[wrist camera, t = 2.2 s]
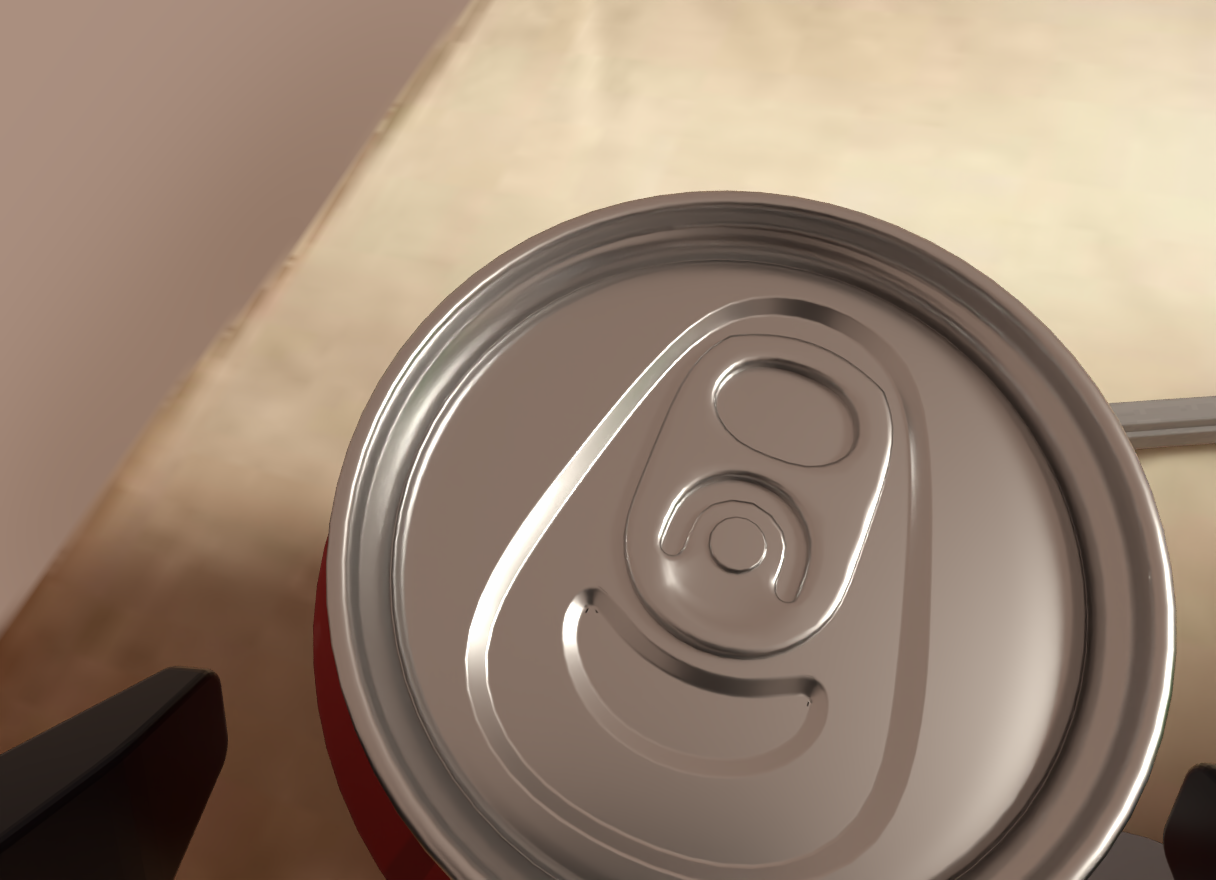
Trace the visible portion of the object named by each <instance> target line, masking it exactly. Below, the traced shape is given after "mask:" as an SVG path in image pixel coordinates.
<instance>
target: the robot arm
mask: <svg viewBox="0 0 1216 880" xmlns="http://www.w3.org/2000/svg"><path fill="white" fill-rule="evenodd" d="M227 747H228V735H227V727H226V719H225V711H224V704H223V696H222V688H221V683H220V679H219V677H218V675H217V674H216V673H215V672H214V671H212V670H210V669H204V668H194V667H183V666H172V667H168V668H166V669H164V670H162V671H160V672H158V673H156V674H154V675H152V676H150V677H148V678H147V679H145V680H143V681H141V682H139V683H137V684H135V685H133V686H131V687H129V688H127V689H125V690H123V691H122V692H120V693H118V694H116V695H114V696H112V697H110V698H108V699H106V700H104V701H102V702H100V703H98V704H97V705H95V706H93V707H91V708H89V709H87V710H85V711H83V712H81V713H79V714H77V715H75V716H74V717H72V718H70V719H68V720H66V721H64V722H62V723H60V724H58V725H56V726H54V727H52V728H50V729H49V730H47V731H45V732H43V733H41V734H39V735H37V736H35V737H33V738H31V739H29V740H27V741H26V742H24V743H22V744H20V745H18V746H16V747H14V748H12V749H10V750H8V751H6V752H4V753H2V754H1V755H0V880H174V878H175V875H176V873H177V871H178V868H179V866H180V864H181V862H182V859H183V857H184V855H185V852H186V850H187V848H188V845H189V843H190V841H191V838H192V836H193V834H194V831H195V829H196V827H197V825H198V822H199V820H200V818H201V815H202V813H203V811H204V808H205V806H206V804H207V801H208V799H209V797H210V794H211V792H212V790H213V788H214V785H215V783H216V781H217V778H218V776H219V774H220V771H221V769H222V767H223V764H224V761H225V757H226V753H227ZM1163 848H1164V853H1165V857H1166V860H1167V863H1168V866H1169V868H1170V871H1171V873H1172V876H1173V879H1174V880H1216V764H1212V763H1200V764H1196V765H1195V766H1193V767H1192V768H1191V769H1190V770H1189V771H1188V773H1187V774H1186V776H1185V779H1184V781H1183V784H1182V786H1181V788H1180V791H1179V793H1178V796H1177V798H1176V801H1175V803H1174V805H1173V808H1172V810H1171V813H1170V815H1169V818H1168V820H1167V822H1166V825H1165V828H1164V834H1163Z"/></svg>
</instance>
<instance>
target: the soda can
mask: <svg viewBox="0 0 1216 880" xmlns="http://www.w3.org/2000/svg"><path fill="white" fill-rule="evenodd" d="M313 651H314V674H315V684H316V693H317V703H318V709H319V714H320V719H321V724H322V729H323V733H324V738H325V743H326V748H327V751H328V754H329V757H330V760H331V764H332V767H333V770H334V773H335V776H336V779H337V782H338V786H339V789H340V791H341V794H342V796H343V798H344V800H345V803H346V805H347V807H348V810H349V812H350V814H351V817H352V819H353V821H354V824H355V826H356V828H357V830H358V832H359V834H360V836H361V838H362V839H363V841H364V843H365V845H366V846H367V848H368V850H369V852H370V854H371V855H372V857H373V859H374V861H375V862H376V864H377V866H378V868H379V870H380V871H381V872H382V874H383V875H384V877H385V878H386V879H387V880H1087V879H1088V878H1089V877H1090V876H1091V875H1092V873H1093V872H1094V871H1095V870H1096V868H1097V867H1098V866H1099V865H1100V863H1101V862H1102V861H1103V860H1104V858H1105V857H1106V856H1107V854H1108V853H1109V851H1110V849H1111V848H1112V846H1113V845H1114V843H1115V841H1116V840H1117V838H1118V837H1119V835H1120V833H1121V832H1122V830H1123V829H1124V827H1125V825H1126V824H1127V822H1128V821H1129V819H1130V817H1131V815H1132V813H1133V811H1134V809H1135V807H1136V804H1137V802H1138V800H1139V798H1140V796H1141V794H1142V792H1143V790H1144V787H1145V785H1146V783H1147V781H1148V779H1149V776H1150V774H1151V771H1152V768H1153V765H1154V762H1155V759H1156V756H1157V753H1158V750H1159V747H1160V744H1161V741H1162V738H1163V734H1164V729H1165V725H1166V720H1167V716H1168V711H1169V706H1170V702H1171V697H1172V690H1173V680H1174V671H1175V661H1176V603H1175V593H1174V584H1173V574H1172V567H1171V562H1170V557H1169V552H1168V547H1167V543H1166V538H1165V533H1164V529H1163V525H1162V522H1161V519H1160V516H1159V512H1158V509H1157V506H1156V503H1155V499H1154V496H1153V493H1152V490H1151V488H1150V485H1149V483H1148V480H1147V478H1146V475H1145V473H1144V471H1143V468H1142V466H1141V463H1140V461H1139V459H1138V456H1137V454H1136V452H1135V450H1134V448H1133V446H1132V444H1131V442H1130V440H1129V438H1128V437H1127V435H1126V433H1125V431H1124V429H1123V427H1122V425H1121V423H1120V421H1119V419H1118V418H1117V416H1116V415H1115V413H1114V412H1113V410H1112V408H1111V407H1110V405H1109V404H1108V402H1107V401H1106V399H1105V397H1104V396H1103V394H1102V393H1101V391H1100V390H1099V388H1098V387H1097V385H1096V384H1095V383H1094V381H1093V380H1092V379H1091V377H1090V376H1089V375H1088V374H1087V372H1086V371H1085V370H1084V368H1083V367H1082V366H1081V364H1080V363H1079V362H1078V360H1077V359H1076V358H1075V357H1074V355H1073V354H1072V353H1071V352H1070V351H1069V350H1068V349H1067V348H1066V347H1065V346H1064V344H1063V343H1062V342H1061V341H1060V340H1059V339H1058V338H1057V337H1056V336H1055V335H1054V333H1053V332H1052V331H1051V330H1050V329H1049V328H1048V327H1047V326H1046V325H1045V324H1044V323H1043V322H1042V321H1041V320H1039V319H1038V318H1037V317H1036V316H1035V315H1034V314H1033V313H1032V312H1031V311H1030V310H1029V309H1028V308H1027V307H1026V306H1024V305H1023V304H1022V303H1021V302H1020V301H1019V300H1018V299H1016V298H1015V297H1014V296H1012V295H1011V294H1010V293H1009V292H1007V291H1006V290H1005V289H1004V288H1002V287H1001V286H1000V285H999V284H997V283H996V282H995V281H994V280H992V279H991V278H989V277H988V276H986V275H985V274H983V273H982V272H980V271H979V270H977V269H976V268H974V267H973V266H972V265H970V264H969V263H967V262H966V261H964V260H963V259H961V258H959V257H957V256H956V255H954V254H952V253H950V252H949V251H947V250H945V249H943V248H941V247H940V246H938V245H936V244H934V243H933V242H931V241H929V240H927V239H925V238H922V237H920V236H918V235H916V234H914V233H912V232H909V231H907V230H905V229H903V228H901V227H899V226H896V225H894V224H891V223H888V222H886V221H883V220H880V219H878V218H875V217H872V216H870V215H867V214H864V213H861V212H858V211H854V210H851V209H847V208H844V207H840V206H837V205H833V204H830V203H825V202H820V201H815V200H810V199H805V198H800V197H795V196H787V195H780V194H772V193H764V192H747V191H698V192H685V193H676V194H668V195H659V196H654V197H648V198H643V199H638V200H633V201H628V202H624V203H620V204H616V205H613V206H609V207H606V208H602V209H599V210H595V211H592V212H589V213H586V214H584V215H581V216H578V217H576V218H573V219H570V220H568V221H565V222H562V223H560V224H558V225H556V226H554V227H552V228H549V229H547V230H545V231H543V232H541V233H539V234H537V235H535V236H533V237H531V238H529V239H527V240H525V241H524V242H522V243H520V244H518V245H517V246H515V247H513V248H512V249H510V250H508V251H507V252H505V253H503V254H501V255H500V256H498V257H497V258H496V259H494V260H493V261H491V262H490V263H489V264H487V265H486V266H484V267H483V268H482V269H480V270H479V271H477V272H476V273H474V274H473V275H472V276H471V277H469V278H468V279H467V280H466V281H465V282H464V283H462V284H461V285H460V286H459V287H458V288H457V289H455V290H454V291H453V292H452V293H451V294H450V295H448V296H447V297H446V298H445V299H444V300H443V301H442V302H441V303H440V304H439V305H438V306H437V307H436V308H435V309H434V310H433V311H432V312H431V314H430V315H429V316H428V317H427V318H426V319H425V320H424V321H423V322H422V323H421V324H420V325H419V326H418V328H417V329H416V330H415V331H414V333H413V334H412V335H411V336H410V338H409V339H408V340H407V341H406V343H405V344H404V345H403V346H402V348H401V349H400V350H399V351H398V353H397V355H396V356H395V358H394V359H393V361H392V362H391V364H390V365H389V367H388V368H387V370H386V371H385V373H384V374H383V376H382V377H381V379H380V380H379V382H378V384H377V386H376V388H375V390H374V392H373V393H372V395H371V397H370V399H369V401H368V403H367V405H366V407H365V409H364V410H363V412H362V415H361V417H360V419H359V422H358V424H357V427H356V429H355V432H354V434H353V437H352V439H351V441H350V444H349V446H348V449H347V452H346V456H345V459H344V462H343V466H342V469H341V473H340V476H339V479H338V483H337V487H336V492H335V497H334V502H333V508H332V513H331V518H330V523H329V534H328V537H327V541H326V544H325V548H324V552H323V557H322V563H321V568H320V573H319V578H318V583H317V591H316V602H315V613H314V624H313Z"/></svg>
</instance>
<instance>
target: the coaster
mask: <svg viewBox="0 0 1216 880" xmlns="http://www.w3.org/2000/svg"><path fill="white" fill-rule="evenodd" d="M1087 880H1174V879H1173V876H1172V873H1171V871H1170V868H1169V866H1168V863H1167V860H1166V857H1165V853H1164V848H1163V844H1162V843H1159V842H1157V841H1154V840H1151V839H1149V838H1146V837H1142V836H1138V835H1134V834H1130V833H1126V832H1121V833H1120V835H1119V837H1118V838H1117V840H1116V841H1115V843H1114V845H1113V846H1112V848H1111V849H1110V851H1109V853H1108V854H1107V856H1106V857H1105V858H1104V860H1103V861H1102V862H1101V863H1100V865H1099V866H1098V867H1097V868H1096V870H1095V871H1094V872H1093V873H1092V875H1091V876H1090V877H1089V878H1088V879H1087Z"/></svg>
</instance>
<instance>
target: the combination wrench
mask: <svg viewBox="0 0 1216 880" xmlns="http://www.w3.org/2000/svg"><path fill="white" fill-rule="evenodd" d="M1108 404H1109V405H1110V407H1111V408H1112V410H1113V412H1114V413H1115V415H1116V416H1117V418H1118V419H1119V421H1120V423H1121V425H1122V427H1123V429H1124V431H1125V433H1126V435H1127V437H1128V438H1129V440H1130V442H1131V444H1132V446H1133V448H1134V449H1144V448H1158V447H1171V446H1185V445H1198V444H1211V443H1216V396H1209V397H1194V398H1179V399H1165V400H1150V401H1136V402H1121V403H1108Z"/></svg>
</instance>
